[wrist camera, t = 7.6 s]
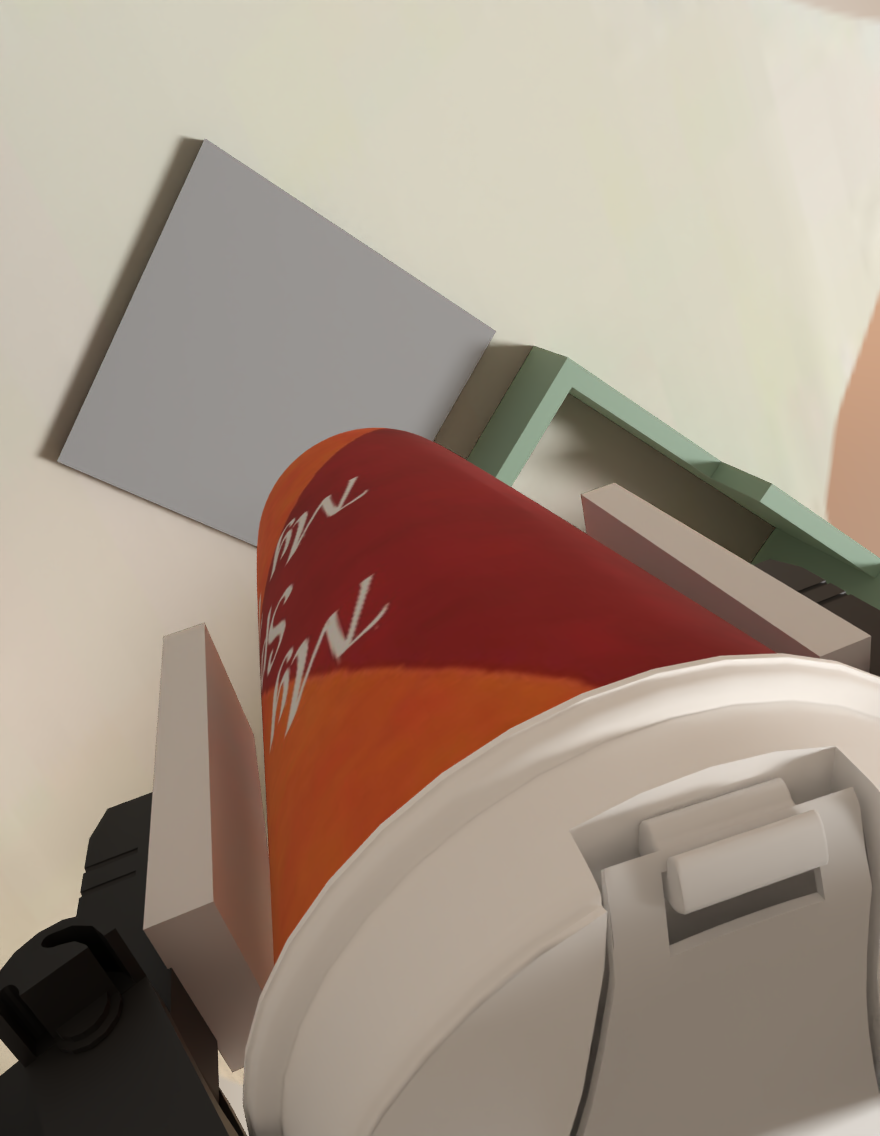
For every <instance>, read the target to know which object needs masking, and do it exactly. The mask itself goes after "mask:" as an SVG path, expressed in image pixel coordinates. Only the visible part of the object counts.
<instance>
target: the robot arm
mask: <svg viewBox="0 0 880 1136" xmlns="http://www.w3.org/2000/svg"><path fill="white" fill-rule="evenodd" d="M581 499H582V506H583V512H584V519H585V526H586V533H587V535H589V536H591V537H592V538H594V539H595V540H597V541H599V542H600V543H602V544H603V545H605V546H607V547H608V548H610V549H611V550H613V551H615V552H616V553H618V554H619V555H621V556H623V557H624V558H626V559H627V560H629V561H631V562H632V563H634V564H635V565H637V566H638V567H640V568H642V569H643V570H645V571H646V572H648V573H650V574H651V575H653V576H654V577H656V578H658V579H659V580H661V581H662V582H664V583H666V584H667V585H669V586H670V587H672V588H674V589H675V590H677V591H678V592H680V593H682V594H683V595H685V596H686V597H688V598H690V599H691V600H693V601H694V602H696V603H698V604H699V605H701V606H702V607H704V608H706V609H707V610H709V611H711V612H712V613H714V614H715V615H717V616H719V617H720V618H722V619H723V620H725V621H727V622H728V623H730V624H731V625H733V626H735V627H736V628H738V629H739V630H741V631H743V632H744V633H746V634H747V635H749V636H751V637H752V638H754V639H755V640H757V641H759V642H760V643H762V644H763V645H765V646H767V647H768V648H770V649H771V650H773V651H775V652H776V653H784V654H791V655H798V656H805V657H812V658H819V659H826V660H833V661H838V662H840V663H843V664H846V665H849V666H851V667H854V668H857V669H859V670H862V671H865V672H868V673H870V674H873V675H876V676H878V677H880V610H878V609H877V608H875V607H873V606H871V605H869V604H868V603H866V602H864V601H862V600H860V599H859V598H857V597H855V596H853V595H851V594H850V595H847V594H846V591H844V590H842V589H841V588H839V587H837V586H835V585H833V584H831V583H829V584H827V583H826V580H824V579H822V578H821V577H819V576H817V575H815V574H813V573H812V572H810V571H808V570H806V569H804V568H803V567H800V566H796V565H792V564H788V563H784V562H780V561H776V560H772V559H768V560H766V561H763V562H760V563H758V564H755V565H752V564H750V563H748V562H747V561H745V560H743V559H742V558H740V557H738V556H737V555H735V554H733V553H732V552H730V551H728V550H727V549H725V548H723V547H722V546H720V545H718V544H717V543H715V542H713V541H712V540H710V539H708V538H707V537H705V536H703V535H702V534H700V533H698V532H697V531H695V530H693V529H692V528H690V527H688V526H687V525H685V524H683V523H682V522H680V521H678V520H677V519H675V518H673V517H671V516H670V515H668V514H666V513H665V512H663V511H661V510H660V509H658V508H656V507H655V506H653V505H651V504H650V503H648V502H646V501H645V500H643V499H641V498H640V497H638V496H636V495H635V494H633V493H631V492H630V491H628V490H626V489H625V488H623V487H621V486H620V485H618V484H616V483H612V484H609V485H606V486H603V487H600V488H597V489H594V490H591V491H588V492H585V493H583V494H581ZM85 871H86V873H84V874H83V880H82V886H81V891H80V892H81V895H82V897H81V898H79V903H78V909H77V915H76V917H72V918H68V919H64V920H61V921H60V922H58V923H56V924H54V925H52V926H50V927H48V928H47V929H45V930H43V931H41V932H39V933H38V934H36V935H35V936H34V937H33V938H32V939H30V940H29V941H28V942H27V943H26V944H24V945H23V946H22V947H21V948H20V949H18V950H17V951H16V952H15V953H14V954H13V955H12V957H11V958H10V959H9V960H8V962H7V963H6V964H5V965H4V967H3V968H2V969H1V970H0V1039H1V1040H2V1041H3V1043H4V1044H5V1045H6V1046H7V1047H8V1048H9V1050H10V1051H11V1052H12V1053H13V1054H14V1056H15V1057H16V1058H17V1059H18V1060H19V1061H18V1062H17V1063H16V1064H14V1065H13V1066H12V1067H11V1068H9V1069H8V1070H7V1071H6V1072H5V1073H3V1074H2V1075H1V1076H0V1136H247V1135H246V1133H245V1131H244V1129H243V1127H242V1125H241V1123H240V1122H239V1120H238V1118H237V1116H236V1114H235V1112H234V1110H233V1109H232V1107H231V1105H230V1103H229V1102H228V1100H227V1098H226V1097H225V1095H224V1094H223V1093H222V1091H221V1089H220V1088H219V1076H218V1050H219V1052H220V1053H221V1055H222V1057H223V1058H224V1060H225V1061H226V1063H227V1065H228V1066H229V1068H230V1069H231V1071H232V1072H234V1071H237V1070H239V1069H241V1068H243V1067H244V1060H245V1048H246V1045H247V1041H248V1037H249V1034H250V1030H251V1026H252V1023H253V1019H254V1015H255V1012H256V1008H257V1004H258V1001H259V997H260V995H261V993H262V991H263V988H264V986H265V984H266V982H267V980H268V978H269V976H270V974H271V972H272V970H273V968H274V954H273V933H272V911H271V890H270V868H269V854H268V846H267V838H266V830H265V822H264V814H263V805H262V797H261V789H260V781H259V773H258V765H257V757H256V748H255V740H254V734H253V732H252V730H251V728H250V725H249V723H248V721H247V719H246V716H245V714H244V712H243V709H242V707H241V705H240V703H239V700H238V698H237V696H236V693H235V691H234V689H233V687H232V684H231V682H230V680H229V677H228V675H227V673H226V671H225V668H224V666H223V664H222V662H221V659H220V657H219V655H218V652H217V650H216V648H215V646H214V643H213V641H212V639H211V636H210V634H209V632H208V630H207V627H206V625H205V623H202V624H199V625H196V626H193V627H190V628H187V629H184V630H181V631H178V632H176V633H173V634H170V635H167V636H164V637H163V651H162V665H161V680H160V694H159V708H158V723H157V737H156V752H155V766H154V780H153V792H152V793H149V794H146V795H144V796H141V797H138V798H136V799H133V800H130V801H128V802H125V803H122V804H120V805H117V806H114V807H112V808H109V809H107V811H106V812H105V814H104V816H103V817H102V819H101V821H100V822H99V824H98V826H97V827H96V829H95V831H94V832H93V834H92V835H91V837H90V839H89V844H88V850H87V856H86V862H85Z"/></svg>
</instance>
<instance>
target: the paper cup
mask: <svg viewBox="0 0 880 1136" xmlns="http://www.w3.org/2000/svg"><path fill="white" fill-rule="evenodd" d="M257 599H258V629H259V652H260V676H261V700H262V721H263V742H264V763H265V784H266V805H267V825H268V847H269V868H270V890H271V911H272V933H273V954H274V968H273V970H272V972H271V974H270V976H269V978H268V980H267V982H266V984H265V986H264V988H263V991H262V993H261V995H260V997H259V1001H258V1004H257V1008H256V1012H255V1015H254V1019H253V1023H252V1026H251V1030H250V1034H249V1037H248V1041H247V1045H246V1048H245V1060H244V1082H243V1108H244V1112H245V1118H246V1122H247V1127H248V1131H249V1136H880V677H878V676H876V675H873V674H870V673H868V672H865V671H862V670H859V669H857V668H854V667H851V666H849V665H846V664H843V663H840V662H838V661H833V660H826V659H819V658H812V657H805V656H798V655H791V654H784V653H776V652H775V651H773V650H771V649H770V648H768V647H767V646H765V645H763V644H762V643H760V642H759V641H757V640H755V639H754V638H752V637H751V636H749V635H747V634H746V633H744V632H743V631H741V630H739V629H738V628H736V627H735V626H733V625H731V624H730V623H728V622H727V621H725V620H723V619H722V618H720V617H719V616H717V615H715V614H714V613H712V612H711V611H709V610H707V609H706V608H704V607H702V606H701V605H699V604H698V603H696V602H694V601H693V600H691V599H690V598H688V597H686V596H685V595H683V594H682V593H680V592H678V591H677V590H675V589H674V588H672V587H670V586H669V585H667V584H666V583H664V582H662V581H661V580H659V579H658V578H656V577H654V576H653V575H651V574H650V573H648V572H646V571H645V570H643V569H642V568H640V567H638V566H637V565H635V564H634V563H632V562H631V561H629V560H627V559H626V558H624V557H623V556H621V555H619V554H618V553H616V552H615V551H613V550H611V549H610V548H608V547H607V546H605V545H603V544H602V543H600V542H599V541H597V540H595V539H594V538H592V537H591V536H589V535H587V534H586V533H584V532H583V531H581V530H579V529H578V528H576V527H575V526H573V525H571V524H570V523H568V522H567V521H565V520H563V519H562V518H560V517H559V516H557V515H555V514H554V513H552V512H550V511H549V510H547V509H546V508H544V507H542V506H541V505H539V504H538V503H536V502H534V501H533V500H531V499H529V498H528V497H526V496H525V495H523V494H521V493H520V492H518V491H516V490H515V489H513V488H512V487H510V486H508V485H507V484H505V483H504V482H502V481H500V480H499V479H497V478H495V477H494V476H492V475H490V474H489V473H487V472H485V471H484V470H482V469H480V468H479V467H477V466H475V465H474V464H472V463H470V462H469V461H467V460H466V459H464V458H462V457H460V456H459V455H457V454H455V453H453V452H451V451H450V450H448V449H446V448H444V447H443V446H441V445H439V444H437V443H435V442H433V441H431V440H428V439H426V438H424V437H422V436H419V435H416V434H414V433H410V432H407V431H402V430H397V429H390V428H363V429H356V430H351V431H347V432H343V433H340V434H337V435H335V436H332V437H329V438H327V439H325V440H323V441H321V442H319V443H318V444H316V445H314V446H312V447H311V448H310V449H308V450H307V451H305V452H304V453H303V454H301V455H300V456H299V457H298V458H297V459H296V460H295V461H293V462H292V463H291V464H290V465H289V467H288V468H287V469H286V470H285V471H284V472H283V474H282V475H281V476H280V477H279V479H278V480H277V482H276V484H275V485H274V487H273V489H272V490H271V492H270V494H269V497H268V499H267V501H266V504H265V506H264V509H263V512H262V516H261V520H260V524H259V530H258V542H257Z"/></svg>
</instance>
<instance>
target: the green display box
mask: <svg viewBox="0 0 880 1136" xmlns="http://www.w3.org/2000/svg"><path fill="white" fill-rule="evenodd" d="M568 393H570V394H571V395H573V396H574V397H576V398H577V399H579V400H581V401H582V402H584V403H585V404H587V405H588V406H590V407H591V408H593V409H594V410H596V411H597V412H599V413H600V414H602V415H604V416H605V417H607V418H608V419H610V420H611V421H613V422H614V423H616V424H617V425H619V426H620V427H622V428H623V429H625V430H627V431H628V432H630V433H631V434H633V435H634V436H636V437H637V438H639V439H640V440H642V441H643V442H645V443H646V444H648V445H650V446H651V447H653V448H654V449H656V450H657V451H659V452H660V453H662V454H663V455H665V456H666V457H668V458H669V459H671V460H673V461H674V462H676V463H677V464H679V465H680V466H682V467H683V468H685V469H686V470H688V471H689V472H691V473H692V474H694V475H696V476H697V477H699V478H700V479H702V480H703V481H705V482H706V483H708V484H709V485H711V486H712V487H714V488H715V489H717V490H719V491H720V492H722V493H723V494H725V495H726V496H728V497H729V498H731V499H732V500H734V501H735V502H737V503H738V504H740V505H742V506H743V507H745V508H746V509H748V510H749V511H751V512H752V513H754V514H755V515H757V516H758V517H760V518H762V519H763V520H765V521H766V522H768V523H769V524H771V525H772V526H774V527H775V529H774V531H773V532H772V534H771V535H770V536H769V538H768V539H767V541H766V542H765V544H764V545H763V546H762V548H761V549H760V551H759V552H758V554H757V555H756V556H755V558H754V559H753V561H752V562H751V563H750V564H752V565H755V564H758V563H760V562H763V561H766V560H768V559H772V560H776V561H780V562H784V563H788V564H792V565H796V566H800V567H803V568H804V569H806V570H808V571H810V572H812V573H813V574H815V575H817V576H819V577H821V578H822V579H824V580H826V583H827V584H829V583H831V584H833V585H835V586H837V587H839V588H841V589H842V590H844V591H846V594H847V595H850V594H851V595H853V596H855V597H857V598H859V599H860V600H862V601H864V602H866V603H868V604H869V605H871V606H873V607H875V608H877V609H878V610H880V558H879V557H877V556H876V555H874V554H873V553H871V552H870V551H869V550H867V549H866V548H864V547H863V546H861V545H860V544H858V543H857V542H856V541H854V540H853V539H851V538H850V537H848V536H847V535H845V534H844V533H843V532H841V531H840V530H838V529H837V528H835V527H834V526H832V525H831V524H830V523H828V522H827V521H825V520H824V519H822V518H821V517H819V516H818V515H816V514H815V513H814V512H812V511H811V510H809V509H808V508H806V507H805V506H803V505H802V504H801V503H799V502H798V501H796V500H795V499H793V498H792V497H790V496H789V495H788V494H786V493H785V492H783V491H782V490H780V489H779V488H777V487H776V486H775V485H773V484H771V483H769V482H767V481H764V480H762V479H760V478H758V477H755V476H753V475H751V474H748V473H746V472H744V471H742V470H739V469H737V468H735V467H732V466H730V465H728V464H726V463H723V462H721V461H720V460H718V459H717V458H715V457H714V456H712V455H711V454H709V453H708V452H706V451H705V450H703V449H702V448H700V447H699V446H698V445H696V444H695V443H693V442H692V441H690V440H689V439H687V438H686V437H684V436H683V435H681V434H680V433H678V432H677V431H675V430H674V429H673V428H671V427H670V426H668V425H667V424H665V423H664V422H662V421H661V420H659V419H658V418H656V417H655V416H653V415H652V414H650V413H649V412H648V411H646V410H645V409H643V408H642V407H640V406H639V405H637V404H636V403H634V402H633V401H631V400H630V399H628V398H627V397H625V396H624V395H622V394H621V393H620V392H618V391H617V390H615V389H614V388H612V387H611V386H609V385H608V384H606V383H605V382H603V381H602V380H600V379H599V378H597V377H596V376H595V375H593V374H592V373H590V372H589V371H587V370H586V369H584V368H583V367H581V366H580V365H578V364H577V363H575V362H574V361H572V360H571V359H570V358H568V357H565V356H562V355H559V354H556V353H553V352H550V351H548V350H545V349H542V348H539V347H536V346H533V348H532V350H531V351H530V353H529V355H528V357H527V358H526V360H525V362H524V363H523V365H522V367H521V368H520V370H519V372H518V374H517V375H516V377H515V379H514V380H513V382H512V384H511V385H510V387H509V389H508V391H507V392H506V394H505V396H504V397H503V399H502V401H501V402H500V404H499V406H498V407H497V409H496V411H495V413H494V414H493V416H492V418H491V419H490V421H489V423H488V424H487V426H486V428H485V430H484V431H483V433H482V435H481V436H480V438H479V440H478V441H477V443H476V445H475V447H474V448H473V450H472V452H471V453H470V455H469V457H468V458H467V461H469V462H470V463H472V464H474V465H475V466H477V467H479V468H480V469H482V470H484V471H485V472H487V473H489V474H490V475H492V476H494V477H495V478H497V479H499V480H500V481H502V482H504V483H505V484H507V485H508V486H510V487H511V486H512V485H513V483H514V481H515V480H516V478H517V476H518V475H519V473H520V472H521V470H522V468H523V467H524V465H525V463H526V462H527V460H528V458H529V457H530V455H531V453H532V452H533V450H534V449H535V447H536V445H537V444H538V442H539V440H540V439H541V437H542V435H543V434H544V432H545V430H546V429H547V427H548V426H549V424H550V422H551V421H552V419H553V417H554V416H555V414H556V412H557V411H558V409H559V407H560V406H561V404H562V403H563V401H564V399H565V398H566V396H567V394H568Z"/></svg>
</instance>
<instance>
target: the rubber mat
mask: <svg viewBox="0 0 880 1136" xmlns="http://www.w3.org/2000/svg"><path fill="white" fill-rule="evenodd" d="M495 332H496V331H495V330H493V329H492V328H490V327H489V326H487V325H486V324H484V323H483V322H481V321H480V320H478V319H477V318H475V317H474V316H472V315H471V314H469V313H468V312H466V311H465V310H463V309H462V308H460V307H459V306H457V305H456V304H454V303H453V302H451V301H450V300H448V299H447V298H445V297H444V296H442V295H441V294H439V293H438V292H436V291H435V290H433V289H432V288H430V287H429V286H427V285H426V284H424V283H423V282H421V281H420V280H418V279H416V278H415V277H413V276H412V275H410V274H409V273H407V272H406V271H404V270H403V269H401V268H400V267H398V266H397V265H395V264H394V263H392V262H391V261H389V260H388V259H386V258H385V257H383V256H382V255H380V254H379V253H377V252H376V251H374V250H373V249H371V248H370V247H368V246H367V245H365V244H364V243H362V242H361V241H359V240H358V239H356V238H355V237H353V236H352V235H350V234H349V233H347V232H346V231H344V230H343V229H341V228H340V227H338V226H337V225H335V224H333V223H332V222H330V221H329V220H327V219H326V218H324V217H323V216H321V215H320V214H318V213H317V212H315V211H314V210H312V209H311V208H309V207H308V206H306V205H305V204H303V203H302V202H300V201H299V200H297V199H296V198H294V197H293V196H291V195H290V194H288V193H287V192H285V191H284V190H282V189H281V188H279V187H278V186H276V185H275V184H273V183H272V182H270V181H269V180H267V179H266V178H264V177H263V176H261V175H260V174H258V173H257V172H255V171H254V170H252V169H250V168H249V167H247V166H246V165H244V164H243V163H241V162H240V161H238V160H237V159H235V158H234V157H232V156H231V155H229V154H228V153H226V152H225V151H223V150H222V149H220V148H219V147H217V146H216V145H214V144H213V143H211V142H210V141H208V140H207V139H204V141H203V143H202V146H201V148H200V150H199V152H198V154H197V157H196V159H195V161H194V163H193V165H192V167H191V170H190V172H189V174H188V176H187V178H186V181H185V183H184V185H183V187H182V189H181V192H180V194H179V196H178V198H177V200H176V202H175V205H174V207H173V209H172V211H171V213H170V216H169V218H168V220H167V222H166V224H165V226H164V229H163V231H162V233H161V235H160V237H159V240H158V242H157V244H156V246H155V248H154V251H153V253H152V255H151V257H150V259H149V261H148V264H147V266H146V268H145V270H144V272H143V275H142V277H141V279H140V281H139V283H138V286H137V288H136V290H135V292H134V294H133V296H132V299H131V301H130V303H129V305H128V307H127V310H126V312H125V314H124V316H123V318H122V320H121V323H120V325H119V327H118V329H117V331H116V334H115V336H114V338H113V340H112V342H111V345H110V347H109V349H108V351H107V353H106V355H105V358H104V360H103V362H102V364H101V366H100V369H99V371H98V373H97V375H96V377H95V379H94V382H93V384H92V386H91V388H90V390H89V393H88V395H87V397H86V399H85V401H84V404H83V406H82V408H81V410H80V412H79V414H78V417H77V419H76V421H75V423H74V425H73V428H72V430H71V432H70V434H69V436H68V438H67V441H66V443H65V445H64V447H63V449H62V452H61V454H60V456H59V458H58V460H57V462H59V463H62V464H64V465H66V466H69V467H71V468H73V469H76V470H78V471H81V472H83V473H85V474H88V475H90V476H92V477H95V478H97V479H99V480H102V481H104V482H106V483H109V484H111V485H113V486H116V487H118V488H120V489H123V490H125V491H127V492H130V493H132V494H135V495H137V496H139V497H142V498H144V499H146V500H149V501H151V502H153V503H156V504H158V505H160V506H163V507H165V508H167V509H170V510H172V511H174V512H177V513H179V514H181V515H184V516H186V517H188V518H191V519H193V520H196V521H198V522H200V523H203V524H205V525H207V526H210V527H212V528H214V529H217V530H219V531H221V532H224V533H226V534H228V535H231V536H233V537H235V538H238V539H240V540H242V541H245V542H247V543H250V544H252V545H254V546H257V542H258V530H259V524H260V520H261V516H262V512H263V509H264V506H265V504H266V501H267V499H268V497H269V494H270V492H271V490H272V489H273V487H274V485H275V484H276V482H277V480H278V479H279V477H280V476H281V475H282V474H283V472H284V471H285V470H286V469H287V468H288V467H289V465H290V464H291V463H292V462H293V461H295V460H296V459H297V458H298V457H299V456H300V455H301V454H303V453H304V452H305V451H307V450H308V449H310V448H311V447H312V446H314V445H316V444H318V443H319V442H321V441H323V440H325V439H327V438H329V437H332V436H335V435H337V434H340V433H343V432H347V431H351V430H356V429H363V428H390V429H397V430H402V431H407V432H410V433H414V434H416V435H419V436H422V437H424V438H426V439H428V440H431V441H433V440H434V438H435V437H436V435H437V433H438V431H439V430H440V428H441V426H442V425H443V423H444V421H445V419H446V418H447V416H448V414H449V412H450V411H451V409H452V407H453V405H454V404H455V402H456V400H457V398H458V397H459V395H460V393H461V391H462V390H463V388H464V386H465V384H466V383H467V381H468V379H469V378H470V376H471V374H472V372H473V371H474V369H475V367H476V365H477V364H478V362H479V360H480V358H481V357H482V355H483V353H484V351H485V350H486V348H487V346H488V344H489V343H490V341H491V339H492V338H493V336H494V334H495Z"/></svg>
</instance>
